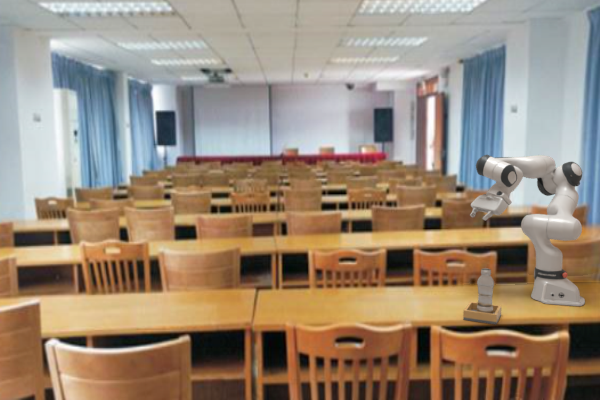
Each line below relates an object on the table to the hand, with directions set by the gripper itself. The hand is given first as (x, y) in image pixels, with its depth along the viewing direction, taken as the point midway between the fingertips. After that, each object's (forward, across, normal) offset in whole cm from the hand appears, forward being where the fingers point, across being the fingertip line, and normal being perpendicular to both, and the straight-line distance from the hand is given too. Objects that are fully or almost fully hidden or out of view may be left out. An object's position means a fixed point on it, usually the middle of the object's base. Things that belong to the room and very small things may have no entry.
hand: (477, 217), depth 256 cm
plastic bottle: (+37, +29, +15) cm, 49 cm away
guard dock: (+37, +27, +16) cm, 48 cm away
